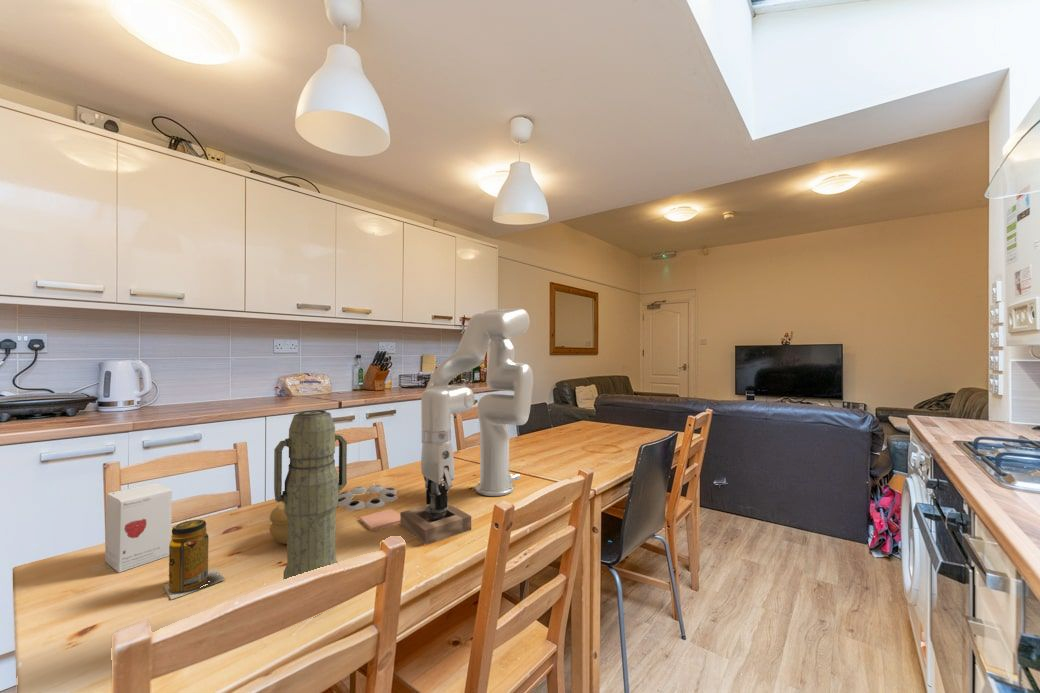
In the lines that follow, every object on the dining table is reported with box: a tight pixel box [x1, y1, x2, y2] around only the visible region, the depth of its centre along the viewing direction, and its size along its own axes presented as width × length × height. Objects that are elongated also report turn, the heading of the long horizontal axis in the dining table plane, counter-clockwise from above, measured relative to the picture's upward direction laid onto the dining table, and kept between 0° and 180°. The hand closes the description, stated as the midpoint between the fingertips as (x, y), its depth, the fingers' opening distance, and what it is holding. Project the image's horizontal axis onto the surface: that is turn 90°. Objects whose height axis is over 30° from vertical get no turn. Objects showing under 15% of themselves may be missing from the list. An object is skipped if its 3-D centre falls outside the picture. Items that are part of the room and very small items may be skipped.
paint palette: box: [337, 484, 399, 511], centre depth 128 cm, size 20×20×2 cm
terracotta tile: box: [359, 508, 400, 532], centre depth 111 cm, size 9×9×1 cm
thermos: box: [273, 409, 348, 580], centre depth 75 cm, size 9×12×35 cm
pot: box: [268, 502, 287, 545], centre depth 101 cm, size 12×12×10 cm
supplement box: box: [104, 482, 173, 573], centre depth 91 cm, size 9×9×15 cm
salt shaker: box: [425, 481, 448, 523], centre depth 108 cm, size 6×6×12 cm
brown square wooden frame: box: [399, 502, 472, 546], centre depth 107 cm, size 13×14×4 cm
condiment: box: [162, 519, 226, 600], centre depth 82 cm, size 7×8×12 cm
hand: (436, 505), depth 108 cm, fingers closed on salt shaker, 4 cm apart
